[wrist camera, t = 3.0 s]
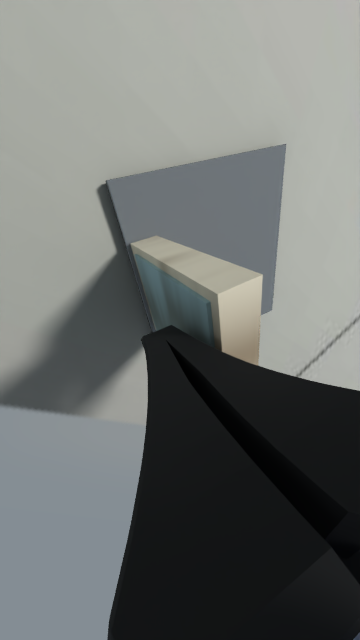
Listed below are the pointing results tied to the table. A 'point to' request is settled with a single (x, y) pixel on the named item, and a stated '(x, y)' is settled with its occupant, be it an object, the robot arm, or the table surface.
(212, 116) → the table surface
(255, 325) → the birch framed mirror
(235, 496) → the robot arm
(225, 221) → the rubber mat
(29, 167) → the table surface
